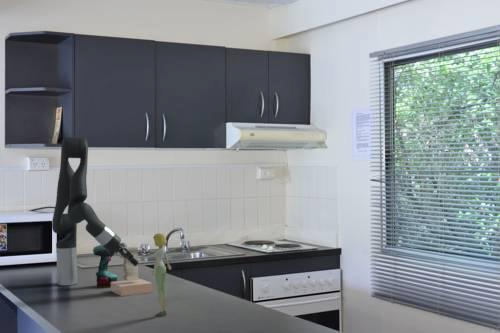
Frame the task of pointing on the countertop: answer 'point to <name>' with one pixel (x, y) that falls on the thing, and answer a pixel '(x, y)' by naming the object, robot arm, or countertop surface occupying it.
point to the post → (130, 265)
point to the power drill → (105, 266)
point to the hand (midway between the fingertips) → (134, 263)
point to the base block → (131, 287)
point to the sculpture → (160, 271)
